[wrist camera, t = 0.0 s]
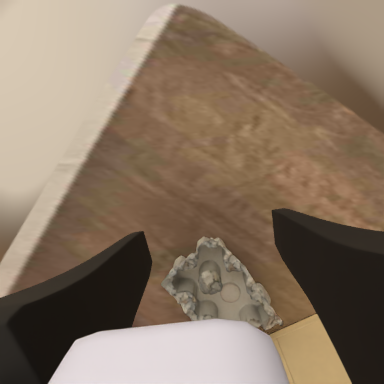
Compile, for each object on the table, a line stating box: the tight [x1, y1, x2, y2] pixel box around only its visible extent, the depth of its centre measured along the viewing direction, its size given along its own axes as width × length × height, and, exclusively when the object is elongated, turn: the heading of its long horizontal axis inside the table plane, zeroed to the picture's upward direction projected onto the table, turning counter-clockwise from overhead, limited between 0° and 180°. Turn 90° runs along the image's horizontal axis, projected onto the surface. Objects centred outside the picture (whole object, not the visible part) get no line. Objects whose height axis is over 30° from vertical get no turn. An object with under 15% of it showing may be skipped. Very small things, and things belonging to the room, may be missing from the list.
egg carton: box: [161, 237, 283, 330], centre depth 21 cm, size 11×8×4 cm
